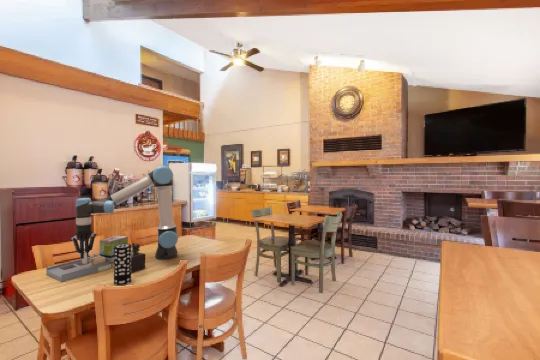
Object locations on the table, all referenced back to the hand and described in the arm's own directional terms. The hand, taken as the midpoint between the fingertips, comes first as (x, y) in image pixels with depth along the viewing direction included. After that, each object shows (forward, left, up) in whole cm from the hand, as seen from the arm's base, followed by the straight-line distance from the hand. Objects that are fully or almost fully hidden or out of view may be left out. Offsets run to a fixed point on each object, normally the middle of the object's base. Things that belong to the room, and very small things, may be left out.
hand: (84, 263), depth 160 cm
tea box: (+9, -22, -6) cm, 25 cm away
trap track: (+4, +1, -5) cm, 7 cm away
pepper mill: (-22, -18, -6) cm, 29 cm away
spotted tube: (-33, -4, -6) cm, 34 cm away
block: (0, -7, -3) cm, 8 cm away
